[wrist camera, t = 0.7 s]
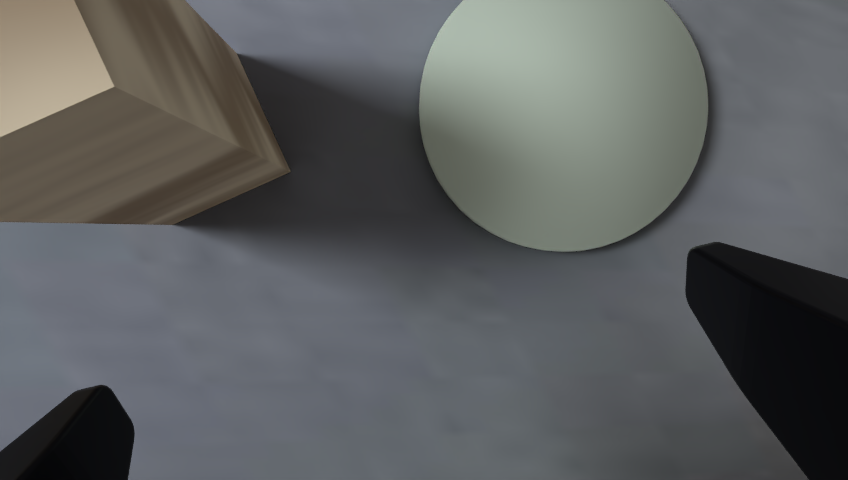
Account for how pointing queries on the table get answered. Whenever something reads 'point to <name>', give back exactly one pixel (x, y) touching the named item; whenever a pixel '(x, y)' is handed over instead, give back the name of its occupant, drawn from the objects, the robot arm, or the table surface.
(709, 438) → the table surface
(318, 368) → the table surface
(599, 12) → the sage mat
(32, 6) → the maple block
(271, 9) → the table surface
